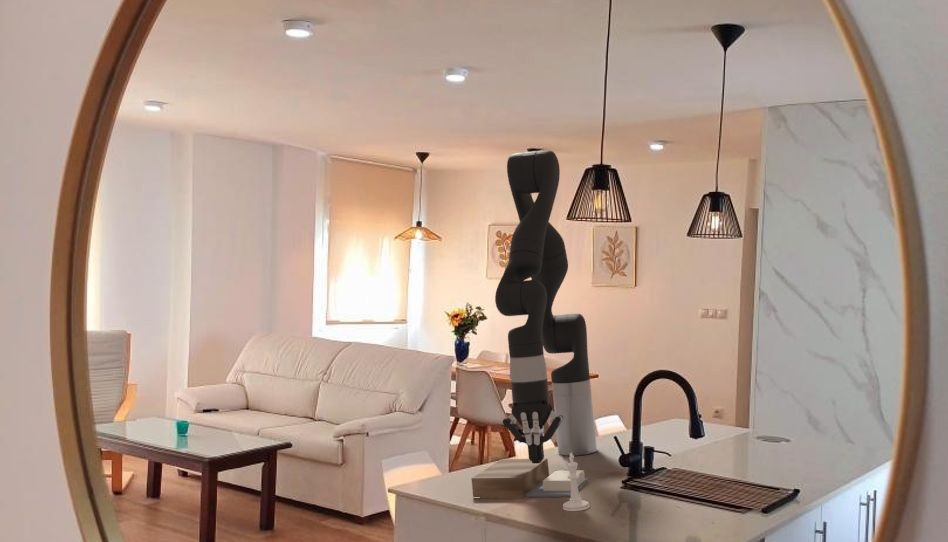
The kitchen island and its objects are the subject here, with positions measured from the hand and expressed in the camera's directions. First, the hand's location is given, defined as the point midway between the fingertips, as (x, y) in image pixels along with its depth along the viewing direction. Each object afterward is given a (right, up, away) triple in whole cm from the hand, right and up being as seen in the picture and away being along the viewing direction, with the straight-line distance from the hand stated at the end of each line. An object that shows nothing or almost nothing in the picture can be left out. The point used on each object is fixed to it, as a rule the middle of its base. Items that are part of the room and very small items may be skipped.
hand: (536, 462), depth 184 cm
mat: (+4, -5, -3) cm, 7 cm away
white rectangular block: (+5, -2, -2) cm, 6 cm away
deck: (-5, -6, +2) cm, 8 cm away
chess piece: (+6, -4, -19) cm, 21 cm away
